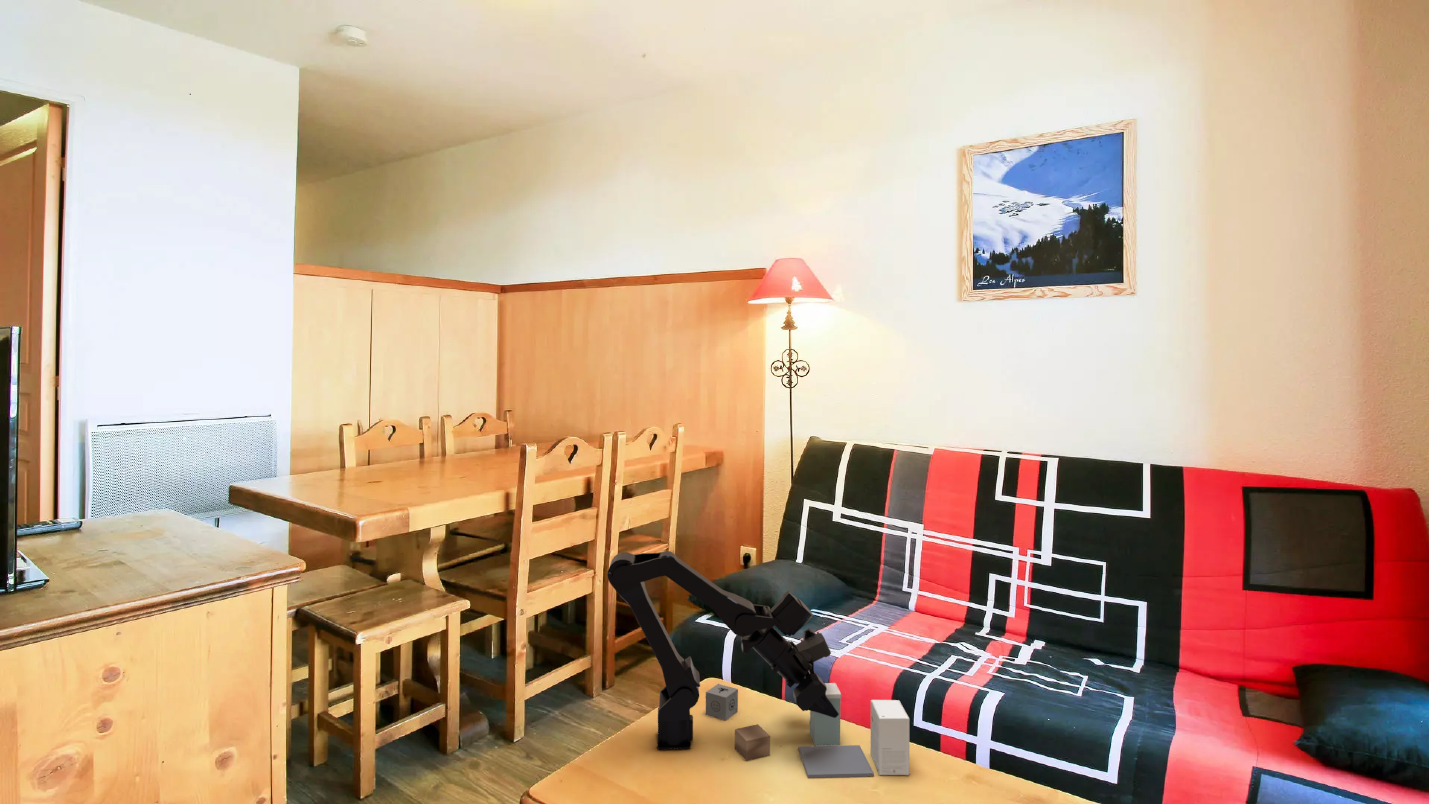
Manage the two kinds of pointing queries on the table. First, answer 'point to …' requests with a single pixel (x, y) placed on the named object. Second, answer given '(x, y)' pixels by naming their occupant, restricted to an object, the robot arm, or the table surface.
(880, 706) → the small box
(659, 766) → the table surface
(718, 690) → the dice cube
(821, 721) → the tea tin
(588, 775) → the table surface
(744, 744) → the walnut block
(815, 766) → the felt coaster
